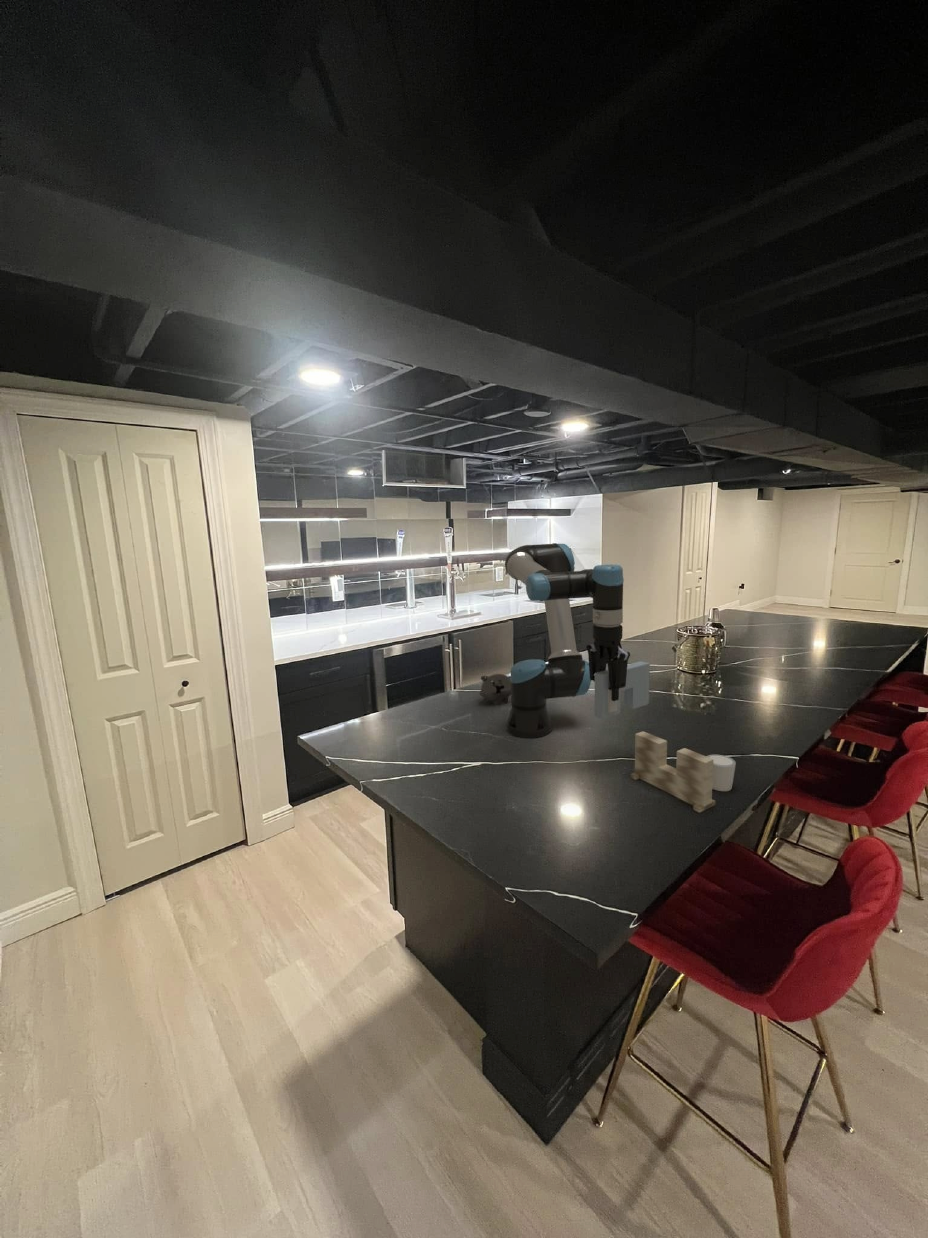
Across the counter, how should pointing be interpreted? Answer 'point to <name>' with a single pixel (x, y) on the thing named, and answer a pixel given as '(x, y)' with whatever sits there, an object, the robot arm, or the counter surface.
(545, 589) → the robot arm
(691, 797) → the slotted stand
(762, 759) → the counter surface
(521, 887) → the counter surface
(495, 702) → the grey teddy bear
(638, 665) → the slotted plate
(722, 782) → the white cylinder
